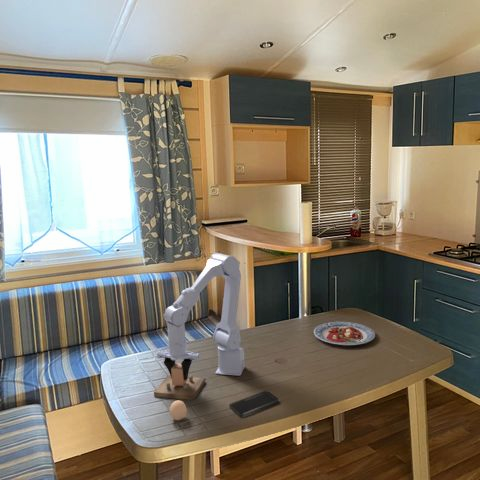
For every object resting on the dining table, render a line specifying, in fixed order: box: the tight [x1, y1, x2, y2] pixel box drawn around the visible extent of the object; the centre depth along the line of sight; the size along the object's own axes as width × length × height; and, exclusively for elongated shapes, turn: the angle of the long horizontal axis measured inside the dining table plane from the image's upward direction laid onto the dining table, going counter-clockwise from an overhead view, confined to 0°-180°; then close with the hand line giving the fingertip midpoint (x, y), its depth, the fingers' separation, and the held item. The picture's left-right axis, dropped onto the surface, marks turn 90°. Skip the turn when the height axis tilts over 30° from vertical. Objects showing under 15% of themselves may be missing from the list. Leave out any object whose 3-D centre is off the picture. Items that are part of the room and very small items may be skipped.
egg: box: [169, 399, 188, 421], centre depth 131 cm, size 5×5×6 cm
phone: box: [229, 390, 280, 418], centre depth 138 cm, size 8×1×15 cm
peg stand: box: [153, 374, 206, 401], centre depth 149 cm, size 14×12×4 cm
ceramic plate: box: [313, 321, 376, 346], centre depth 188 cm, size 26×26×3 cm
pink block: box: [171, 362, 187, 386], centre depth 148 cm, size 4×4×6 cm
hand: (179, 378), depth 149 cm, fingers closed on pink block, 4 cm apart
